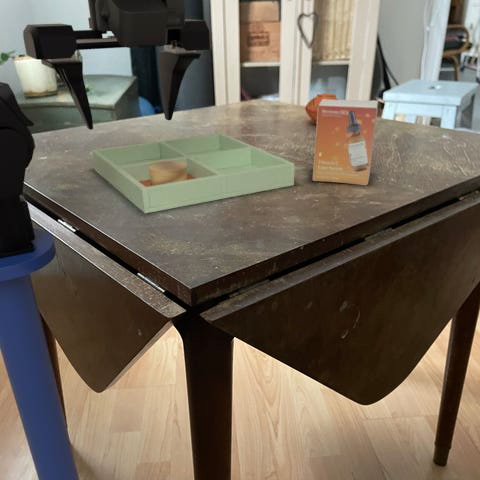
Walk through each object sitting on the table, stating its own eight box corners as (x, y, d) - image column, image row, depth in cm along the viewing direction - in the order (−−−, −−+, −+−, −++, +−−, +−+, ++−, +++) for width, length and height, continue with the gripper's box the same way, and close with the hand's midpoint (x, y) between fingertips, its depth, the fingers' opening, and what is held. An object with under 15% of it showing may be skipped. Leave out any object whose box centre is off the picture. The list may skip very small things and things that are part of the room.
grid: (144, 213, 68) (142, 189, 66) (94, 170, 84) (91, 150, 83) (294, 185, 77) (295, 163, 75) (221, 151, 93) (221, 132, 92)
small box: (311, 182, 78) (316, 104, 72) (316, 171, 82) (321, 97, 77) (368, 185, 76) (377, 106, 71) (370, 174, 81) (378, 99, 75)
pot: (294, 125, 109) (300, 89, 107) (319, 128, 114) (325, 94, 112) (323, 129, 104) (331, 92, 101) (348, 133, 109) (356, 97, 107)
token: (159, 195, 71) (157, 173, 69) (145, 185, 75) (143, 164, 73) (193, 189, 73) (192, 167, 71) (179, 180, 77) (177, 158, 75)
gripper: (29, -49, 43) (64, 150, 51) (235, -45, 51) (237, 128, 59) (6, -42, 51) (40, 128, 59) (186, -40, 59) (194, 111, 67)
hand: (130, 124), depth 61 cm, fingers open, 9 cm apart
